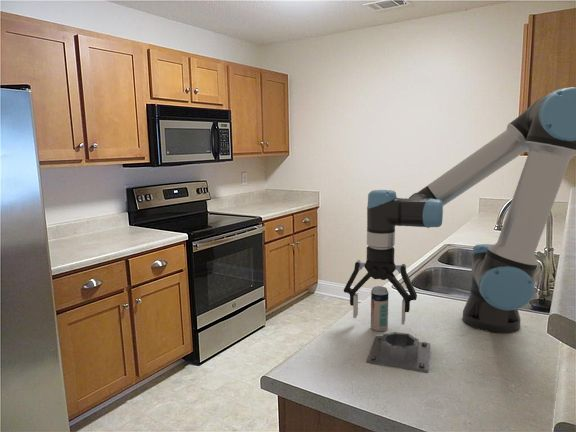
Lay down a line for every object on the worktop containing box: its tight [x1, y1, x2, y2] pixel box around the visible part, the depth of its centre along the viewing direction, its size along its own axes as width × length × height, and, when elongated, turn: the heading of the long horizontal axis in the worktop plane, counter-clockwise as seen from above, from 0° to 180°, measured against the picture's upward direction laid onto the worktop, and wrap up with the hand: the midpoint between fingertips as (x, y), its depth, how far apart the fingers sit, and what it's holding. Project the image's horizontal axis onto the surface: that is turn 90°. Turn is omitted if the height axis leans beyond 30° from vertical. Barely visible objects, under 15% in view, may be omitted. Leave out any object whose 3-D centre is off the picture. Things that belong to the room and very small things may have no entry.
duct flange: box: [365, 331, 431, 373], centre depth 102 cm, size 14×14×4 cm
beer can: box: [370, 285, 389, 332], centre depth 116 cm, size 5×5×12 cm
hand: (378, 319), depth 117 cm, fingers open, 13 cm apart
